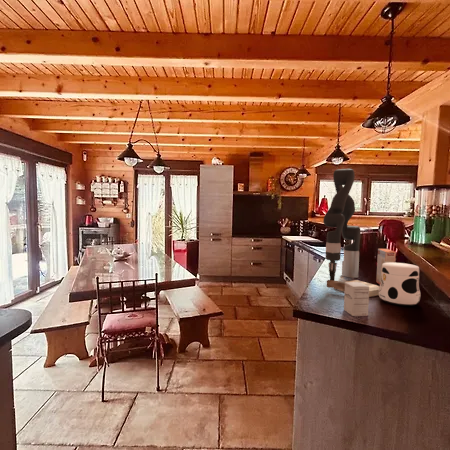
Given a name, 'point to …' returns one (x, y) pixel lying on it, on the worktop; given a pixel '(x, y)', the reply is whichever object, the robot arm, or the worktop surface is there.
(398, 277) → the milk container
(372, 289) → the seat panel
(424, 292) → the worktop surface
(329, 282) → the walnut leg
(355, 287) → the supplement box
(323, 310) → the worktop surface
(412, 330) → the worktop surface
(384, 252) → the cracker box
